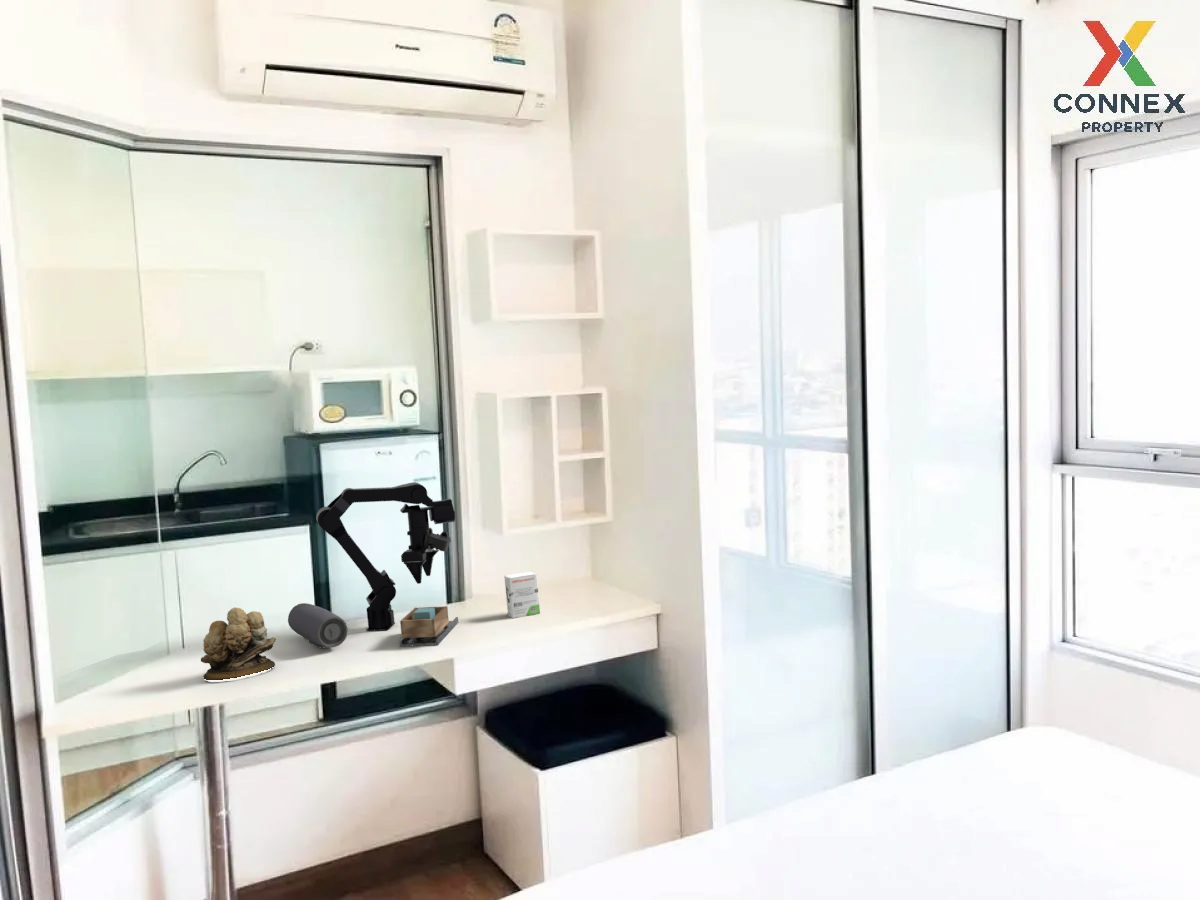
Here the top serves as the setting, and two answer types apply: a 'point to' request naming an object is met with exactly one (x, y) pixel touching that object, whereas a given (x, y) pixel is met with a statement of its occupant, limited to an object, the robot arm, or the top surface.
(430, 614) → the part block
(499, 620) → the top surface
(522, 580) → the ink box
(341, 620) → the bluetooth speaker
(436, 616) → the wooden drawer
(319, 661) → the top surface
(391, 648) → the top surface
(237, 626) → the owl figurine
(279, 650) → the top surface
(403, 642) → the track
